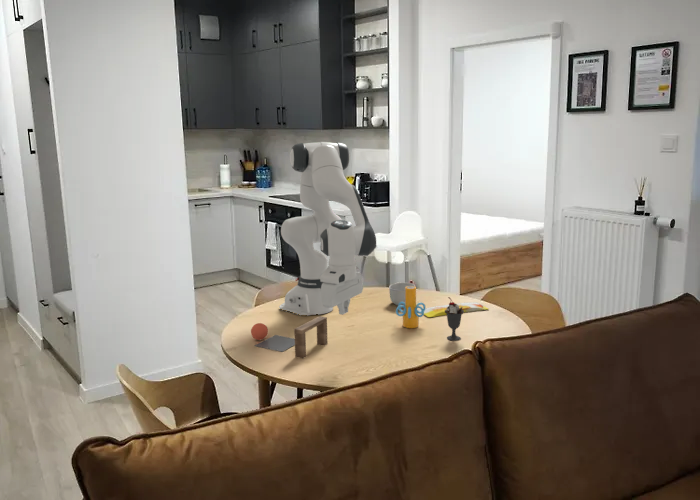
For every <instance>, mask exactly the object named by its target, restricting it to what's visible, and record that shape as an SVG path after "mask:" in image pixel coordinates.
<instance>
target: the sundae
mask: <svg viewBox="0 0 700 500" xmlns="http://www.w3.org/2000/svg"><path fill="white" fill-rule="evenodd" d="M447 298H448V299H449V300H450V302H449V303H448V305H449V306H448V307H447V309H446V310H445V313H446V314H447V315H446V319H447V324H448V327H449V328H450V329H451V330H452V331H451V335H448V336H447V337H446V339H447V340H448V341H453V342H455V341H456V342H458V341H461V339H462V338H461V337H460V336H458V335H457V334H456V330H457V329H458V328H459V327H460V325H461V320H462V315H463V314H464V311H463V310H462V307H461V308H459V306H458V305H457V304H458V303H455V302H453V301H452V298H451V297H447Z"/></svg>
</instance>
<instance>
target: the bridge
mask: <svg viewBox="0 0 700 500" xmlns="http://www.w3.org/2000/svg"><path fill="white" fill-rule="evenodd" d="M314 328H316V343H317V345H318V346H323V347H325V346H327V345H328V344H329V343H328V318H327V317H326V316H321V315H320V316H317V317H315V318H313V319H312V320H309V321H307V322H305V323H303V324H301V325H300V326H298V327H296V328H294V330H293V331H294V339H295V345H294V357H295V358H297V359H298V358H299V359H304V358H306V357H307V343H306V341H307V339H306V338H307V337H306V333H307V332H308V331H310V330H312V329H314Z"/></svg>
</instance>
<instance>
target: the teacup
mask: <svg viewBox="0 0 700 500" xmlns="http://www.w3.org/2000/svg"><path fill="white" fill-rule="evenodd" d="M407 286H415V287H416V285H415V284H414V283H412V282H399V281H397V282H395V283H393V284H389V287H388V289H389V298H390V301H391V302H392V303H393V304H394V305H396V306H398V304H399V303H400V302H404V303H405V287H407ZM401 305H403V306H404V304H401Z"/></svg>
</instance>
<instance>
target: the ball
mask: <svg viewBox="0 0 700 500" xmlns="http://www.w3.org/2000/svg"><path fill="white" fill-rule="evenodd" d="M250 334H251V336H252V338H253V339H255V340H257V341H263V340H265V339H267V338H266V337H268V334H269V330H268V327H267V325H266V324H265V323H261V322H257V323H255V324H254V325H253V326H252V327H251V330H250Z"/></svg>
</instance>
